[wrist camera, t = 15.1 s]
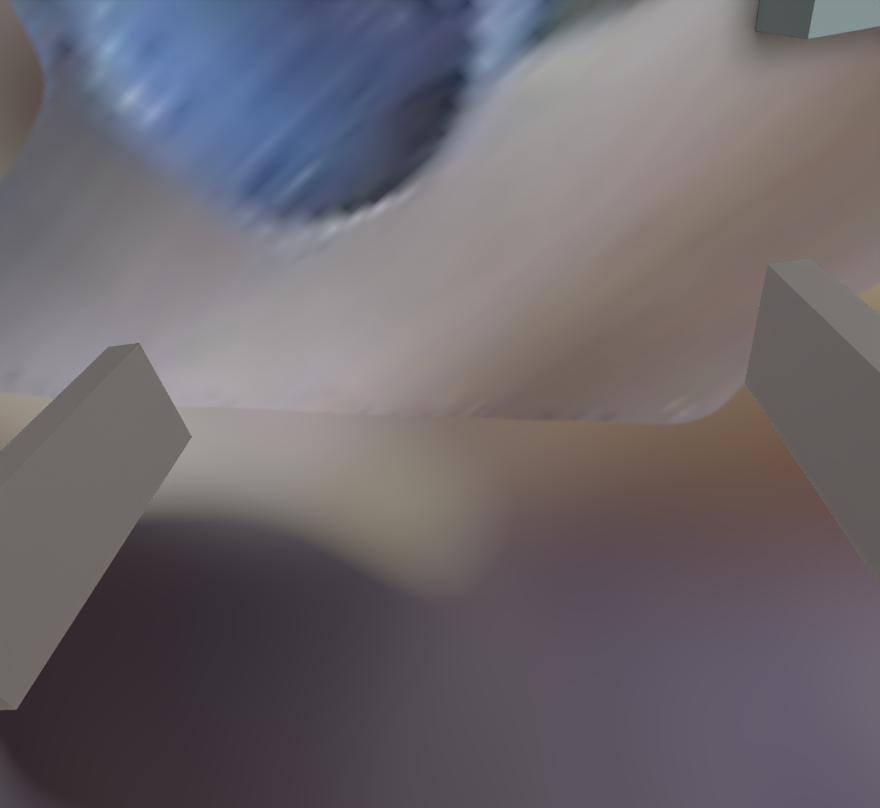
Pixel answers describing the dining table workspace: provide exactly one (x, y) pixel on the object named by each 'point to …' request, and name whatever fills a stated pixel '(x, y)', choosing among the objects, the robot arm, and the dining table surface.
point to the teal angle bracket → (816, 17)
